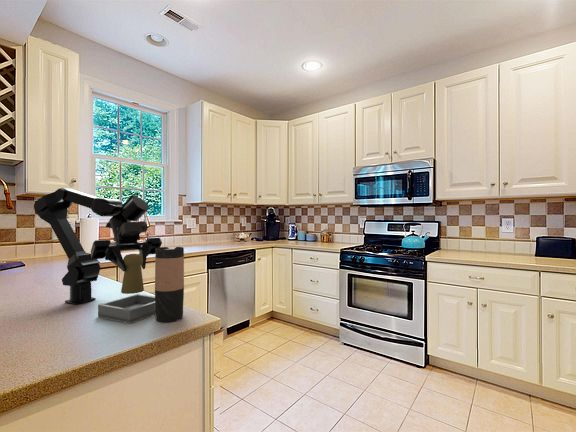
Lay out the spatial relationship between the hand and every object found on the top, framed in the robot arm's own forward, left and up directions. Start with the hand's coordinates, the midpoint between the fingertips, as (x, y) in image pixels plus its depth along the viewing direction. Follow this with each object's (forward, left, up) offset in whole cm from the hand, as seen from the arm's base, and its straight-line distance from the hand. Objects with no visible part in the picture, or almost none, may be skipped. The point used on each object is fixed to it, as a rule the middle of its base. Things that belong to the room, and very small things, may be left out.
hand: (134, 269), depth 86 cm
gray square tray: (-1, +1, -13) cm, 13 cm away
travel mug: (+12, +2, -13) cm, 18 cm away
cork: (-1, 0, -7) cm, 7 cm away
